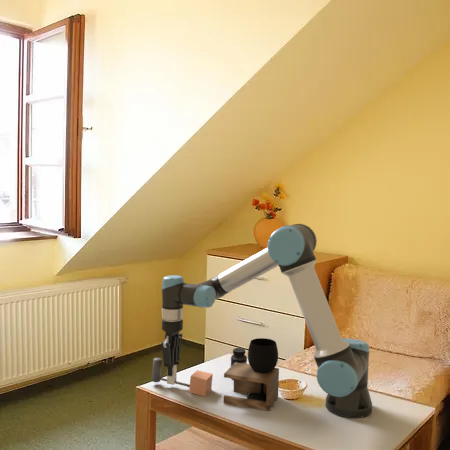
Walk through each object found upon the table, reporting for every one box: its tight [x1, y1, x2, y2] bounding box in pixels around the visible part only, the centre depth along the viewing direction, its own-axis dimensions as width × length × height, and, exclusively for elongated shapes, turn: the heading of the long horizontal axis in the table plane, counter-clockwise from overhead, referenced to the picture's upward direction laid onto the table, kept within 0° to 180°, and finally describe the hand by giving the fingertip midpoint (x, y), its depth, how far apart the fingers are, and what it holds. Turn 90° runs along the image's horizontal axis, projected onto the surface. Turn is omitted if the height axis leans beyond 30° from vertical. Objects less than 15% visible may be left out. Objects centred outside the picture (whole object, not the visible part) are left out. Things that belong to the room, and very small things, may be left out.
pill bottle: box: [230, 347, 248, 381], centre depth 199 cm, size 6×6×11 cm
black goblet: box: [246, 337, 279, 403], centre depth 180 cm, size 10×10×20 cm
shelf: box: [222, 362, 280, 412], centre depth 179 cm, size 16×12×10 cm
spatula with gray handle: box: [151, 357, 213, 397], centre depth 188 cm, size 22×6×8 cm, turn 71°
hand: (171, 383), depth 189 cm, fingers closed on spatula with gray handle
